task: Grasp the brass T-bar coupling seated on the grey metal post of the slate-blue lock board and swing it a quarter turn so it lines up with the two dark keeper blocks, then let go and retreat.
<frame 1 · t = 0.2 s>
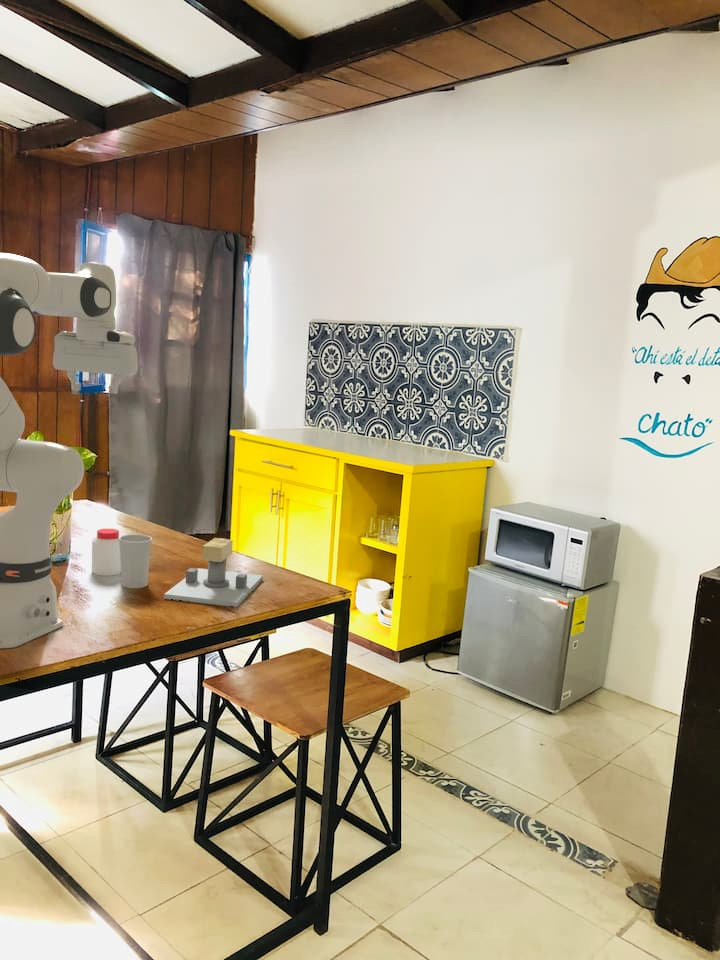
hand: (94, 391, 190), 48 cm above the table, fingers open, 8 cm apart
pill bottle: (107, 572, 207), on the table
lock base: (215, 588, 200), on the table
coupling: (217, 551, 198), point 10 cm above the table, hinge at 0.0°
cup: (134, 585, 198), on the table
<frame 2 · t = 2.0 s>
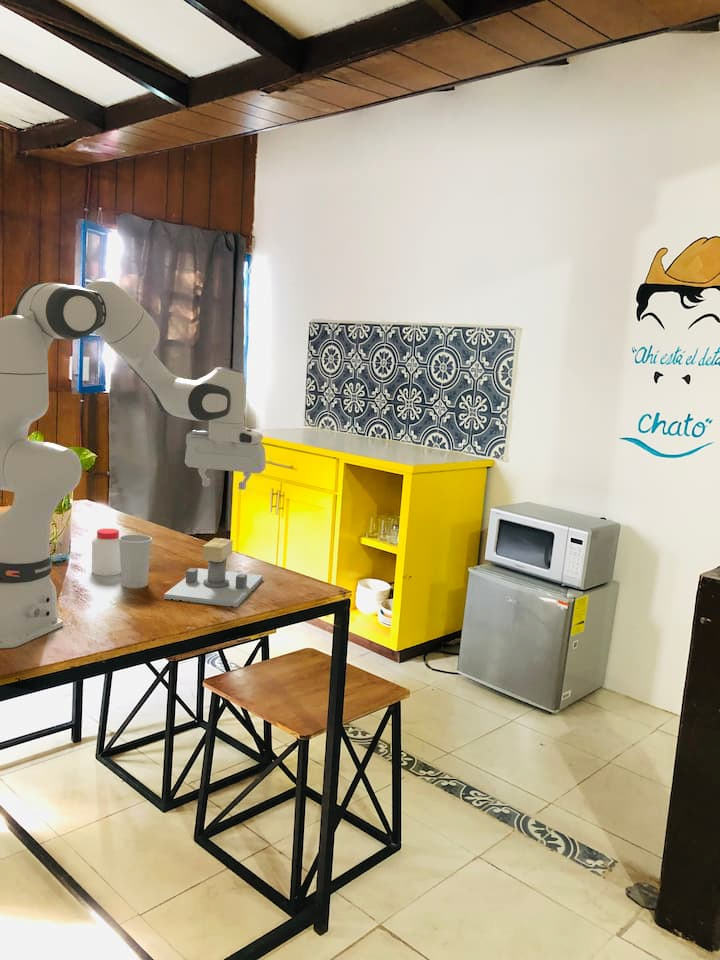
hand: (224, 487, 199), 26 cm above the table, fingers open, 8 cm apart
nothing on the table moved.
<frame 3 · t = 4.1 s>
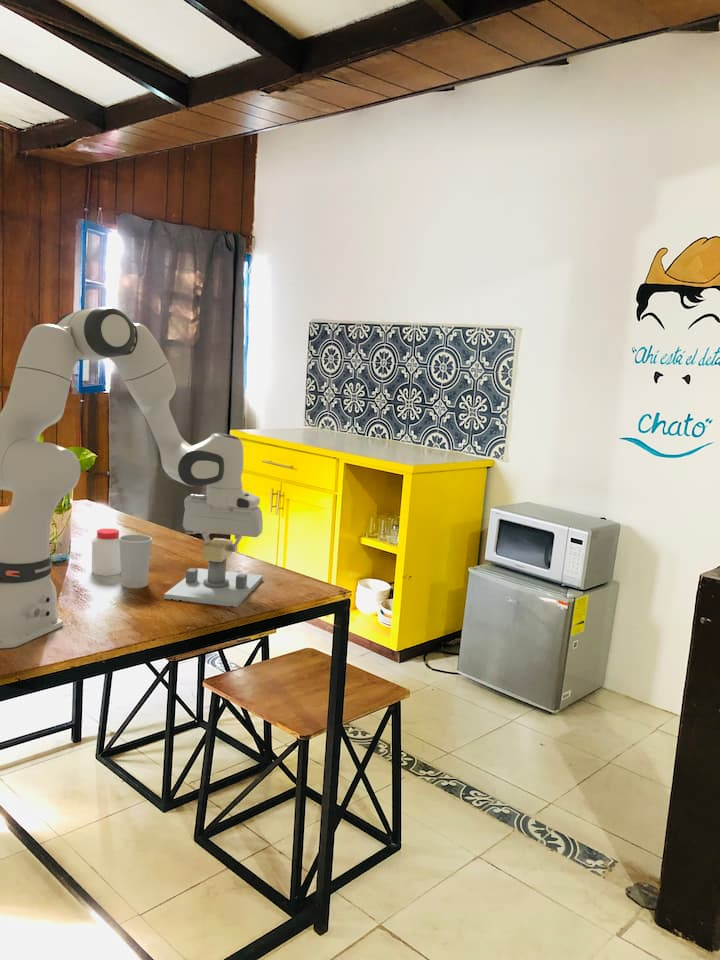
hand: (221, 550, 201), 9 cm above the table, fingers closed on coupling, 5 cm apart
coupling: (217, 551, 198), point 10 cm above the table, hinge at 0.1°, touching gripper
everything else where it was.
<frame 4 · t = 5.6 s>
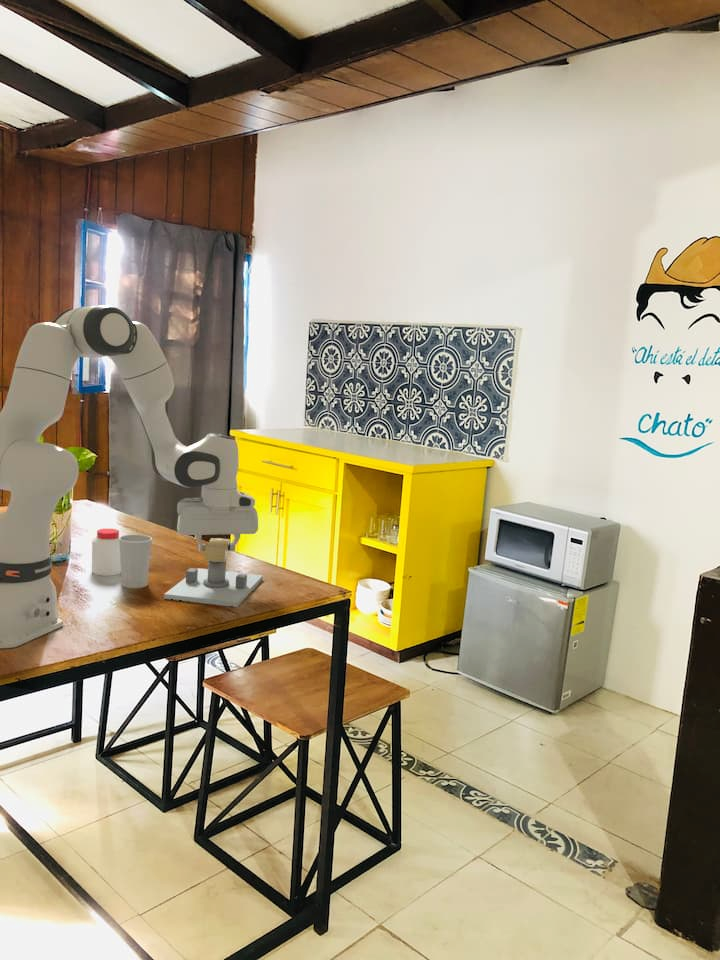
hand: (217, 550, 201), 9 cm above the table, fingers open, 6 cm apart
coupling: (217, 551, 198), point 10 cm above the table, hinge at 10.2°, touching gripper
everything else where it was.
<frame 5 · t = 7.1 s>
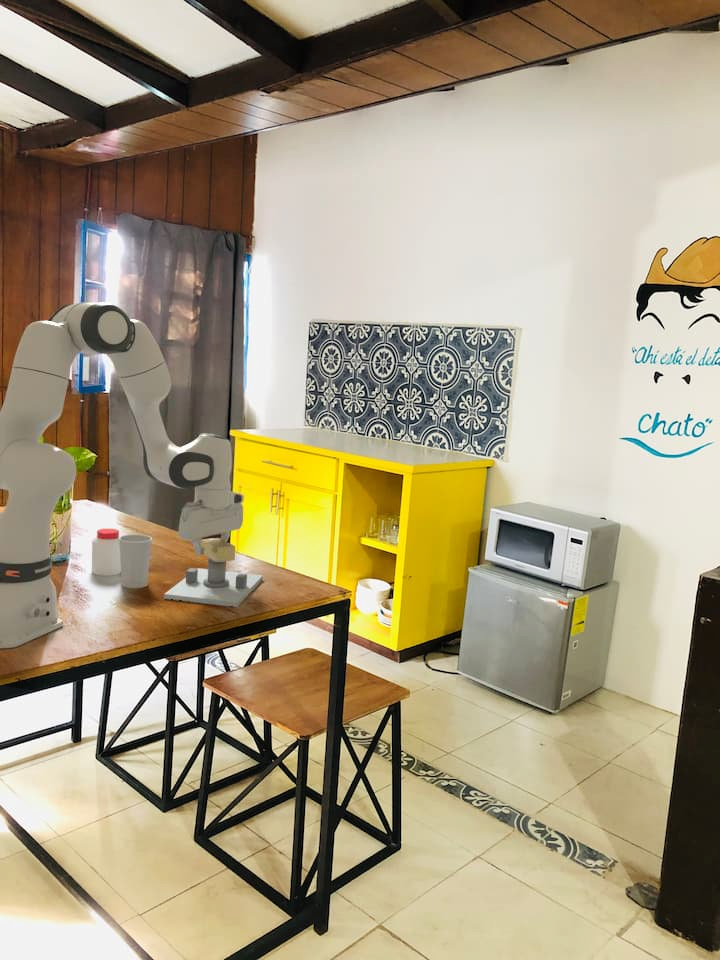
hand: (210, 551, 200), 9 cm above the table, fingers open, 7 cm apart
coupling: (217, 551, 198), point 10 cm above the table, hinge at 45.7°, touching gripper
everything else where it was.
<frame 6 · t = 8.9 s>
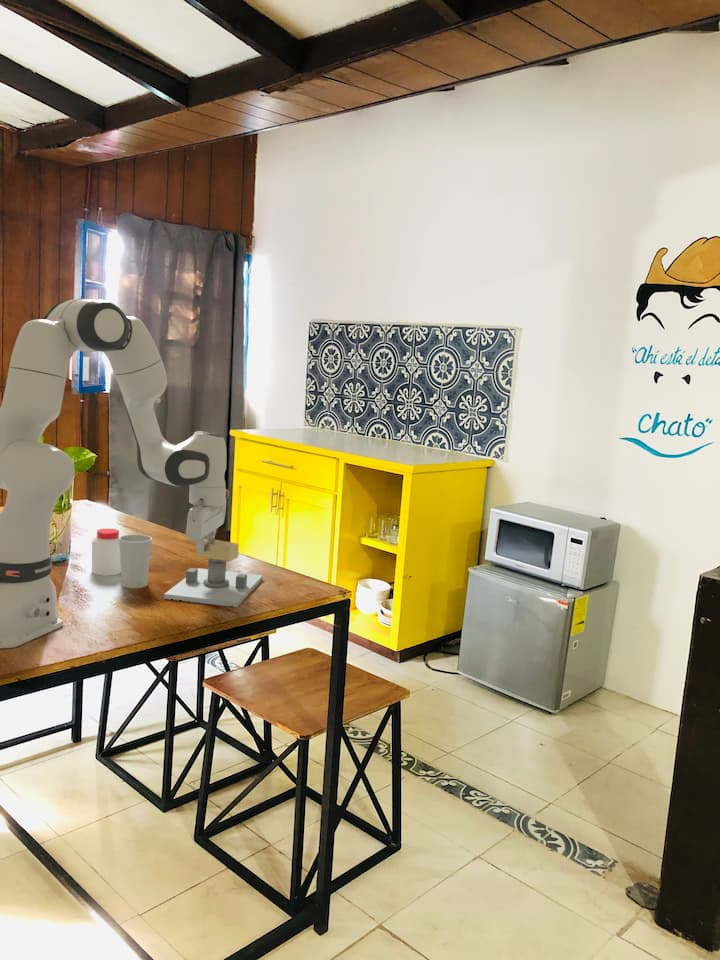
hand: (205, 549, 199), 10 cm above the table, fingers closed on coupling, 5 cm apart
coupling: (217, 551, 198), point 10 cm above the table, hinge at 79.9°, touching gripper
everything else where it was.
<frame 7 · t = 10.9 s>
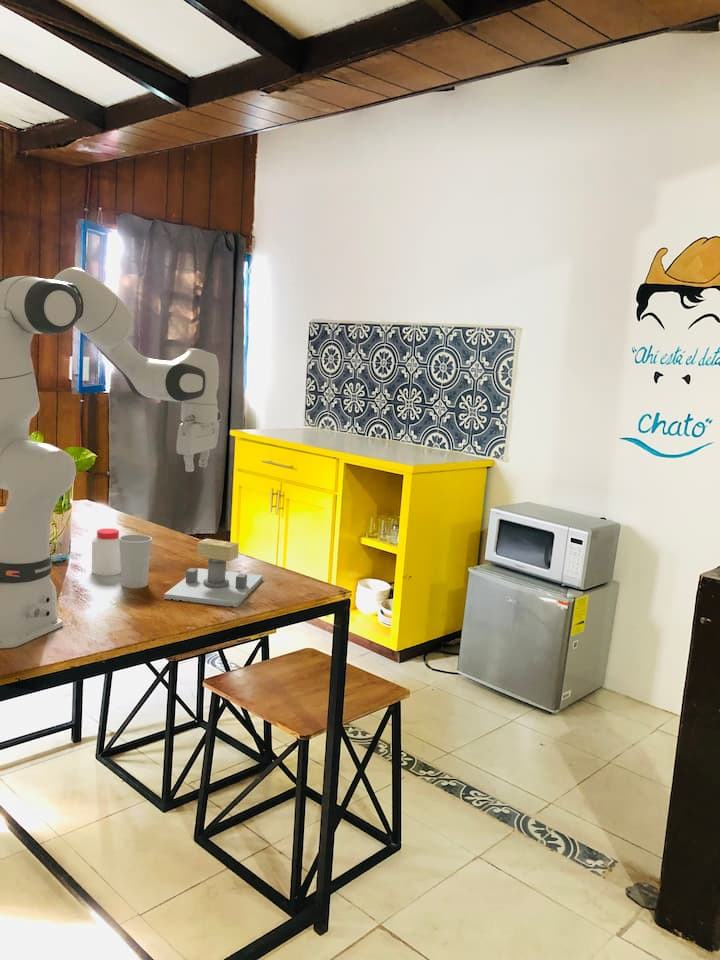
hand: (196, 469, 199), 30 cm above the table, fingers open, 8 cm apart
coupling: (217, 551, 198), point 10 cm above the table, hinge at 80.3°
everything else where it was.
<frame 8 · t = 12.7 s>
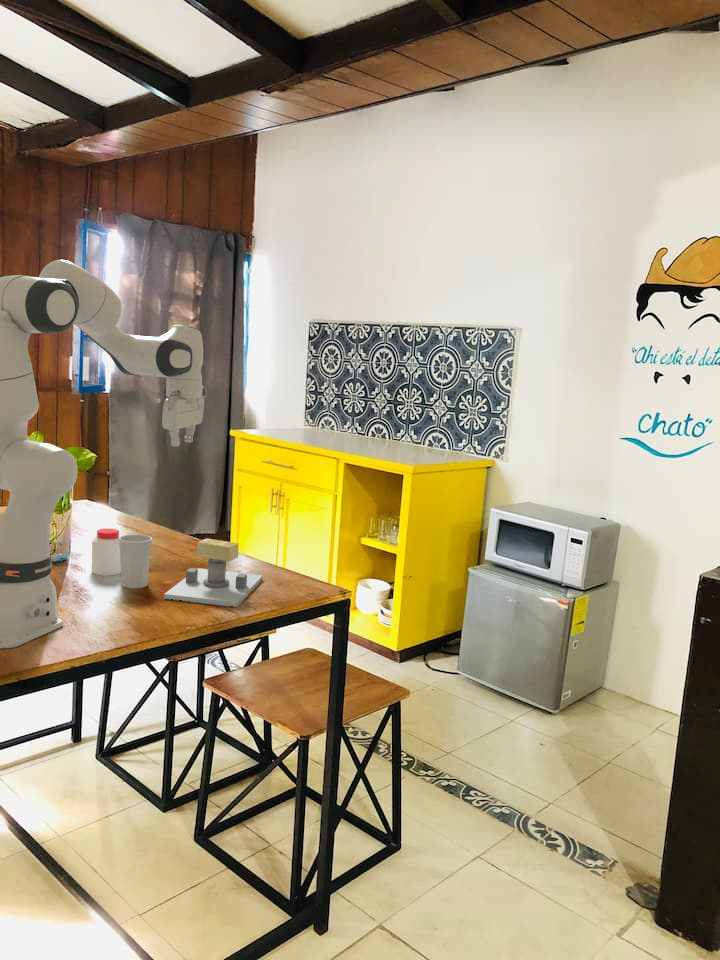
hand: (182, 444, 203), 35 cm above the table, fingers open, 8 cm apart
nothing on the table moved.
at the end: coupling at +80° (first picture: +0°); the gripper is holding nothing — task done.
